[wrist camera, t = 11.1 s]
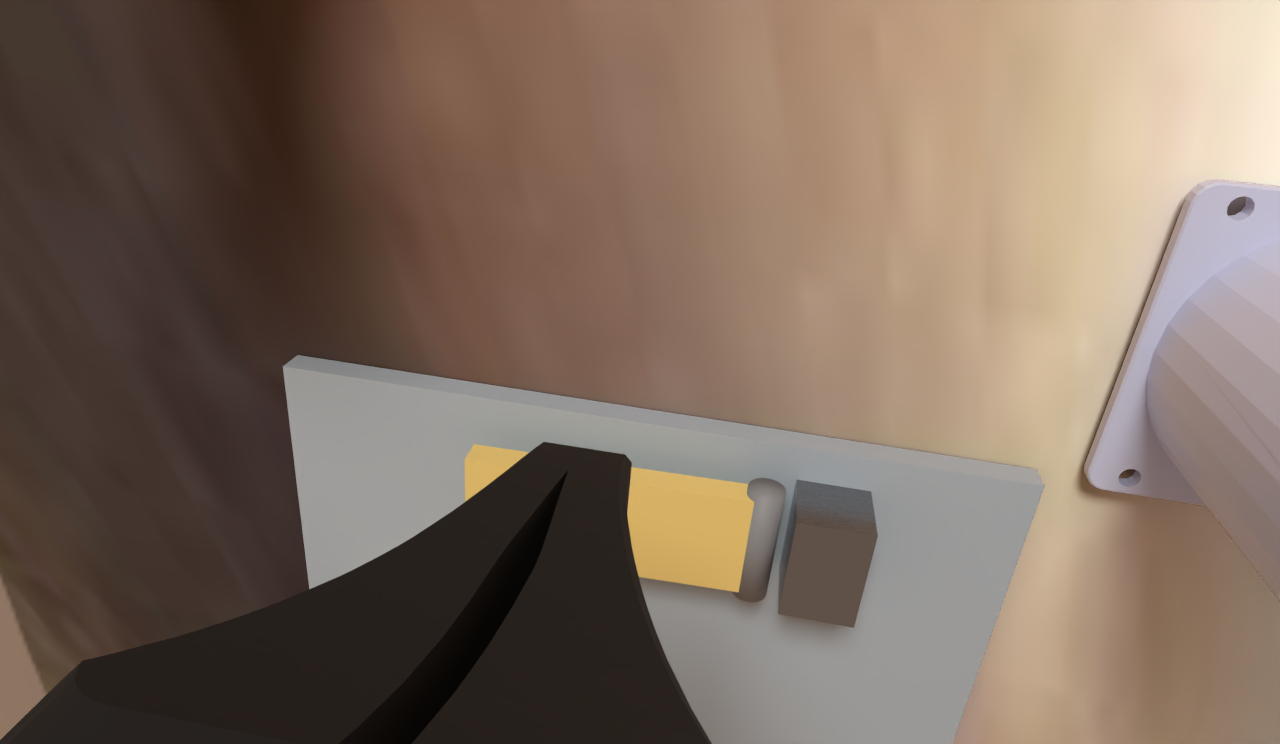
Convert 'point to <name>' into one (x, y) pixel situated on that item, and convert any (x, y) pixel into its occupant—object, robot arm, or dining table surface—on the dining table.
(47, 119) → the dining table surface
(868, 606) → the board
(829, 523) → the block
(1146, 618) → the dining table surface
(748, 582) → the tab
